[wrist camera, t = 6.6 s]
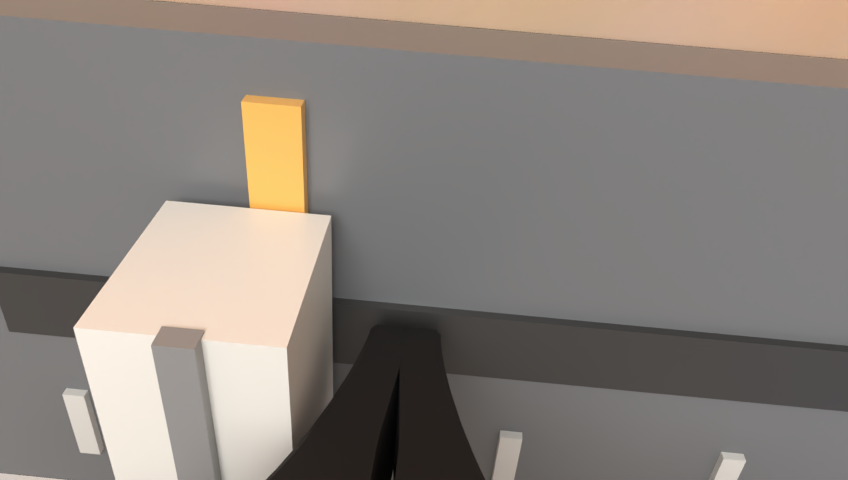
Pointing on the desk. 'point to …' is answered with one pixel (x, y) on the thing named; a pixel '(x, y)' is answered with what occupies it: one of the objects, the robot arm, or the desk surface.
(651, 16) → the desk surface
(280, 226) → the fader tab
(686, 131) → the board
